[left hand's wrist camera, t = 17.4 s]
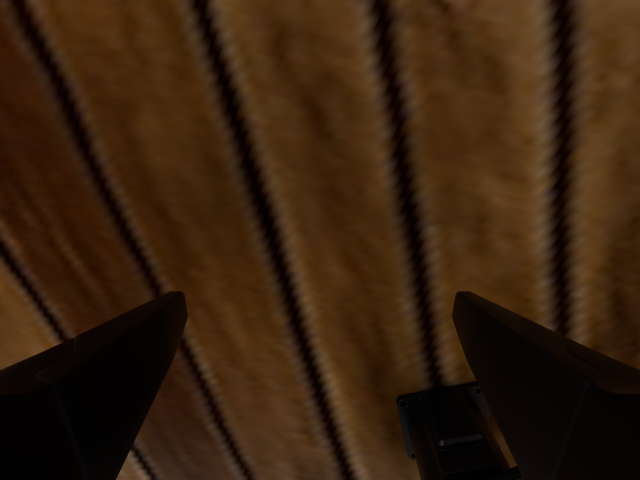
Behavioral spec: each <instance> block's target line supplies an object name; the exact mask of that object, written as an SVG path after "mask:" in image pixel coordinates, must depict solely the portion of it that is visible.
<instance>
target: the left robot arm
mask: <svg viewBox="0 0 640 480" xmlns="http://www.w3.org/2000/svg"><path fill="white" fill-rule="evenodd" d="M187 316H188V314H187V307H186V301H185V295H184V293H183V292H181V291H171V292H168V293H166V294H164V295H162V296H160V297H157V298H155V299H153V300H151V301H149V302H147V303H145V304H143V305H141V306H139V307H137V308H134V309H132V310H130V311H128V312H126V313H124V314H122V315H120V316H118V317H116V318H113V319H111V320H109V321H107V322H105V323H103V324H101V325H99V326H97V327H95V328H92V329H90V330H88V331H86V332H84V333H82V334H80V335H78V336H76V337H75V338H71V339H69V340H67V341H65V342H63V343H61V344H59V345H57V346H54V347H52V348H50V349H48V350H46V351H44V352H41V353H39V354H37V355H34V356H32V357H30V358H27V359H25V360H23V361H20V362H18V363H16V364H13V365H11V366H9V367H6V368H4V369H1V370H0V480H116V478H117V476H118V474H119V472H120V470H121V468H122V466H123V464H124V462H125V460H126V458H127V455H128V453H129V451H130V449H131V447H132V445H133V443H134V441H135V439H136V437H137V435H138V433H139V430H140V428H141V426H142V424H143V422H144V420H145V418H146V416H147V414H148V412H149V410H150V407H151V405H152V403H153V401H154V399H155V397H156V395H157V393H158V391H159V389H160V387H161V385H162V382H163V380H164V378H165V376H166V374H167V372H168V370H169V368H170V366H171V363H172V361H173V359H174V356H175V354H176V351H177V348H178V345H179V342H180V339H181V336H182V333H183V330H184V327H185V324H186V321H187ZM452 316H453V321H454V324H455V327H456V330H457V333H458V336H459V339H460V342H461V345H462V348H463V351H464V354H465V356H466V359H467V361H468V363H469V366H470V368H471V370H472V372H473V374H474V376H475V378H476V380H477V382H472V383H466V384H461V385H455V386H450V387H444V388H439V389H433V390H428V391H423V392H417V393H412V394H406V395H401V396H399V397H398V398H397V399H396V403H397V407H398V412H399V416H400V421H401V426H402V430H403V435H404V440H405V444H406V449H407V453H408V457H409V458H410V459H413V460H416V462H417V466H418V470H419V473H420V477H421V480H640V370H639V369H636V368H634V367H631V366H629V365H627V364H624V363H622V362H620V361H617V360H615V359H613V358H610V357H608V356H606V355H603V354H601V353H599V352H596V351H594V350H592V349H590V348H588V347H586V346H583V345H581V344H579V343H577V342H575V341H573V340H571V339H569V338H565V337H564V336H562V335H560V334H558V333H556V332H554V331H552V330H550V329H548V328H545V327H543V326H541V325H539V324H537V323H535V322H533V321H531V320H529V319H527V318H524V317H522V316H520V315H518V314H516V313H514V312H512V311H510V310H508V309H506V308H503V307H501V306H499V305H497V304H495V303H493V302H491V301H489V300H487V299H485V298H483V297H480V296H478V295H476V294H474V293H472V292H469V291H459V292H457V293H456V295H455V301H454V307H453V314H452ZM478 388H479V389H478ZM402 402H404V403H402ZM488 405H489V407H490V410H491V412H492V414H493V416H494V418H495V420H496V422H497V424H498V426H499V428H500V430H501V433H502V435H503V437H504V439H505V441H506V443H507V445H508V447H509V449H510V451H511V453H512V455H513V458H514V460H515V462H516V464H517V466H516V467H513V468H510V466H509V464H508V462H507V460H506V458H505V456H504V454H503V452H502V450H501V448H500V446H499V444H498V442H497V441H496V439H495V437H494V435H493V433H492V431H491V429H490V425H489V414H488Z"/></svg>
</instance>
